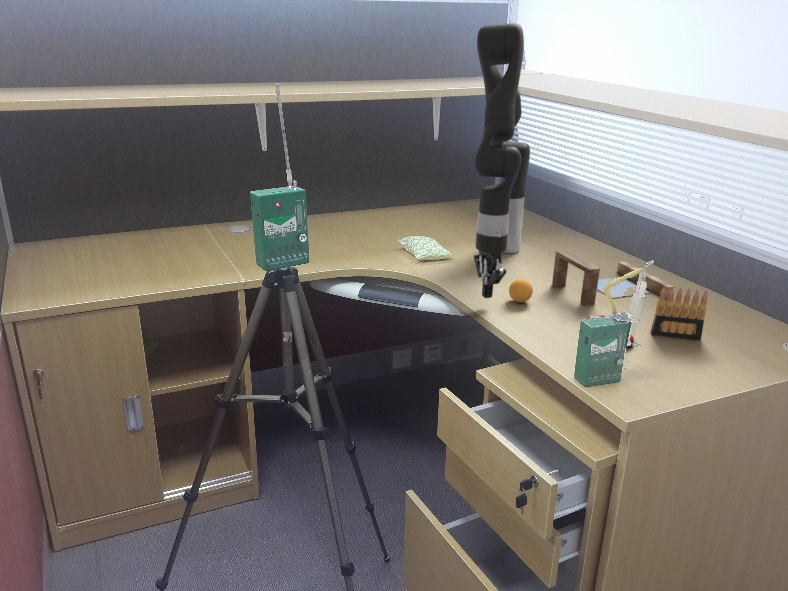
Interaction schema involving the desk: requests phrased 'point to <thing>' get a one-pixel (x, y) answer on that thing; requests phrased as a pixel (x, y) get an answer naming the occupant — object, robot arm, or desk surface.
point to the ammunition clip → (679, 316)
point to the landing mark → (616, 287)
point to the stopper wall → (652, 281)
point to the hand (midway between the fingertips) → (486, 296)
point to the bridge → (589, 269)
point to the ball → (520, 290)
